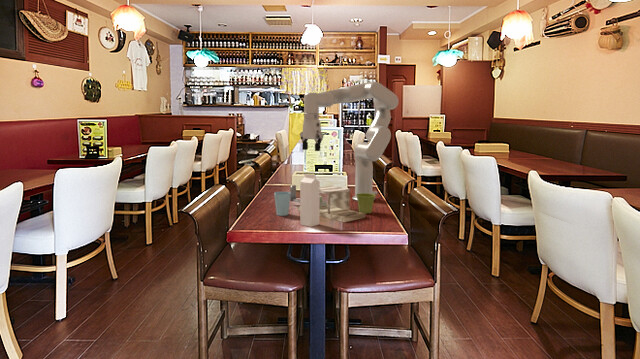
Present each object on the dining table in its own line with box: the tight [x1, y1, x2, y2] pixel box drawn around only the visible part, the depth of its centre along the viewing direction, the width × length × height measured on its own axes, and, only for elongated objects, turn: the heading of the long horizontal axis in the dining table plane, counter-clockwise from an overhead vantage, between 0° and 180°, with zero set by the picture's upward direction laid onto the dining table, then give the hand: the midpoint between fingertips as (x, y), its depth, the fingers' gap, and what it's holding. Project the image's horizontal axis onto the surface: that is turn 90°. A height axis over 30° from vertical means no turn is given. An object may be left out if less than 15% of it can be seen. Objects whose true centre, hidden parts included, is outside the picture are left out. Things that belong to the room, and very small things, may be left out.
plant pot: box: [356, 193, 377, 215], centre depth 225 cm, size 9×9×9 cm
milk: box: [299, 173, 321, 228], centre depth 200 cm, size 6×6×22 cm
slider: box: [289, 184, 328, 207], centre depth 235 cm, size 22×9×8 cm, turn 43°
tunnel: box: [297, 185, 366, 223], centre depth 221 cm, size 32×14×12 cm, turn 43°
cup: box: [273, 191, 291, 217], centre depth 219 cm, size 8×8×10 cm
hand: (311, 150), depth 241 cm, fingers open, 9 cm apart
